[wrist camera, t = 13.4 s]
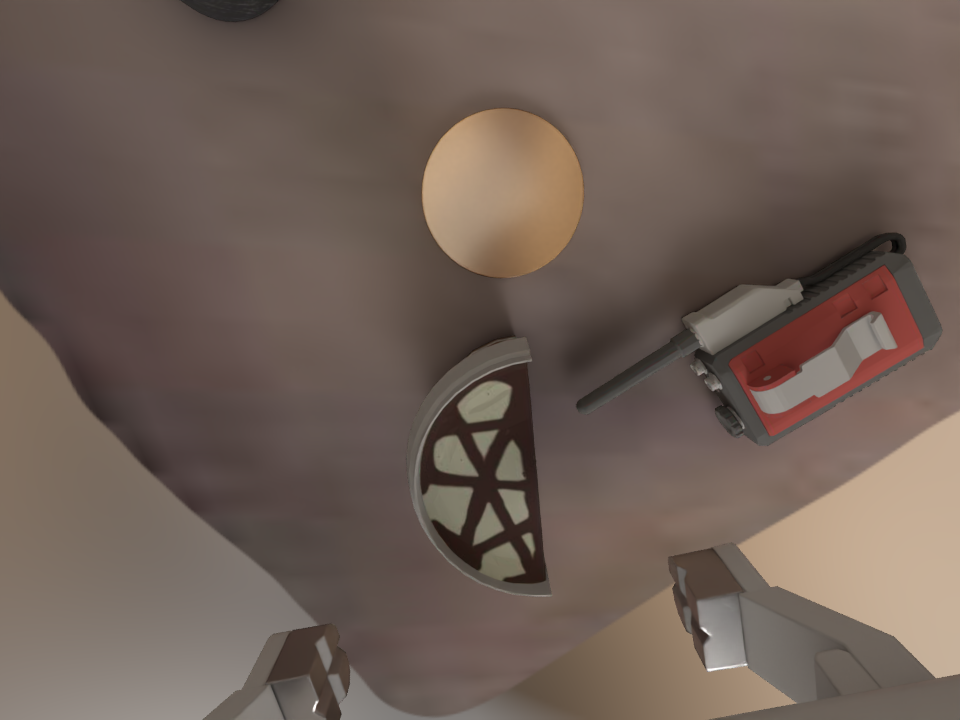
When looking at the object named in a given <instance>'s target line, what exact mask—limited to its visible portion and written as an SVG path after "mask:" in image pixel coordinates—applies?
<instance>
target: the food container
mask: <svg viewBox="0 0 960 720" xmlns="http://www.w3.org/2000/svg"><path fill="white" fill-rule="evenodd" d="M530 361H532V358H531V356H530V349H529V346H528V342H527V339H526V337H522V338H516V336H515V335H514V336H509V337H504V338H499V339H495V340H493V341H491V342H489V343H487V344H485V345H483V346H481V347H479V348H477V349H475V350H473V351H472V352H471V353H470V354H469V355H468V356H467V357H466V358H465V359H464V360H462V361H461V362H460V363H458V364H457V365H456V366H454V367H453V368H452V369H450V370H449V371H448V372H447V373H446V374H445V375H444V376H443V377H442V378H441V379H440V380H439V381H438V382H437V383H436V384H435V385H434V387H433V388H432V389H431V391H430V392H429V394H428V395H427V397H426V398H425V400H424V401H423V402H422V404H421V406H420V408H419V411H418V413H417V415H416V417H415V419H414V421H413V425H412V428H411V432H410V435H409V439H408V446H407V456H406V465H407V479H408V483H409V488H410V493H411V497H412V501H413V505H414V510H415V512H416V514H417V517H418V519H419V521H420V524H421V526H422V528H423V529H424V531H425V533H426V534H427V536H428V537H429V539H430V540H431V542H432V543H433V544H434V545H435V547H436V548H437V549H438V551H439V552H440V553H441V554H442V555H443V556H444V557H445V558H446V559H447V561H448V562H449V563H451V564H452V565H453V566H454V567H456V568H457V569H458V570H459V571H460V572H462V573H463V574H464V575H466V576H468V577H470V578H471V579H473V580H475V581H476V582H478V583H480V584H482V585H485V586H487V587H490V588H492V589H495V590H498V591H502V592H506V593H510V594H514V595H522V596H531V597H545V596H552V593H551V588H550V583H549V578H548V573H547V568H546V563H545V558H544V553H543V541H542V528H541V517H540V506H539V493H538V480H537V469H536V459H535V448H534V435H533V422H532V411H531V400H530V388H529V378H528V368H527V362H530Z"/></svg>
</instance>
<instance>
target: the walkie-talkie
mask: <svg viewBox="0 0 960 720" xmlns="http://www.w3.org/2000/svg"><path fill="white" fill-rule="evenodd" d="M889 240H890V241H891V242H892V250H891V251H890V252H879V251H871V250H873V249H875V248H876V247H878V246H879V245H881V244H883V243H884V242H886V241H889ZM905 250H906V241H905V238H904V237H903V235H901V234H899V233H884V234H881V235H878V236H876V237H874V238H872V239H871V240H869V241H868V242H866V243H864V244H863V245H861V246H860V247H858V248H856V249H855V250H853V251H852V252H850V253H848V254H847V255H845V256H844V257H842V258H840V259H839V260H837V261H836V262H834V263H832V264H831V265H829V266H828V267H826V268H824V269H823V270H821V271H819V272H818V273H816V274H814V275H812V276H810V277H804V278H799V279H796V280H793V279H786V280H784V281H782V282H781V283H779V284H778V285H776V286H765V285H744V284H741V285H739V286H737V287H736V288H734V289H733V290H731V291H729V292H728V293H726V294H725V295H723V296H722V297H720V298H718V299H717V300H715V301H714V302H712V303H710V304H709V305H707V306H706V307H704V308H703V309H701V310H699V311H698V312H692V313H690V314H689V315H687V316H685V317H684V318H682V321H683V323H684V325H685V327H686V328H687V329H686V330H684V331H683V332H681V333H679V334H678V335H676V336H675V337H673V338H671V340H670V343H668V344H666V345H665V346H663V347H662V348H660V349H658V350H657V351H655V352H654V353H652V354H651V355H649V356H647V357H646V358H644V359H643V360H641V361H639V362H638V363H636V364H635V365H633V366H632V367H630V368H628V369H627V370H625V371H624V372H622V373H620V374H619V375H617V376H616V377H614V378H613V379H612V380H610V381H608V382H607V383H605V384H604V385H602V386H601V387H599V388H597V389H596V390H594V391H593V392H591V393H590V394H588V395H586V396H585V397H583V398H582V399H580V400H579V401H578V402H577V405H576V407H577V410H578V411H579V412H580V413H581V414H585V415H586V414H590V413H591V412H593V411H595V410H596V409H598V408H599V407H601V406H603V405H604V404H606V403H607V402H609V401H611V400H612V399H614V398H615V397H617V396H619V395H620V394H622V393H623V392H625V391H627V390H628V389H630V388H631V387H633V386H635V385H636V384H638V383H640V382H641V381H643V380H644V379H646V378H648V377H649V376H651V375H652V374H654V373H656V372H657V371H659V370H660V369H662V368H664V367H665V366H667V365H668V364H670V363H672V362H673V361H675V360H676V359H678V358H680V357H683V358H684V357H686V356H687V355H689V354H690V353H692V352H693V351H695V350H697V351H696V353H695V355H694V356H695V358H694V359H695V362H693V363H692V364H690V366H691V368H692V370H693V371H694V372H695V374H697V375H698V376H699V375H701V374H702V373H705V374H706V376H707V378H706V379H704V381H705V383H706V385H707V386H708V388H709V389H710V390H712V391H714V390H715V391H716V393H717V395H718V396H719V398H720V400H721V402H722V403H723V405H724V406H722V405H721V406H719V407H717V408H715V414H716V416H717V418H718V420H719V421H720V423H721V424H722V425H723V426H724V428H725V429H726V430H727V432H728V433H730V434H731V435H732V436H733V437H735V438H739V437H741V436H742V435H743V434H744V435H745V436H747V437H748V438H749V439H751V440H752V441H753V442H755V443H756V444H757V445H759V446H768V445H770V444H772V443H773V442H775V441H777V440H778V439H780V438H782V437H784V436H785V435H787V434H789V433H790V432H792V431H794V430H795V429H797V428H799V427H801V426H802V425H804V424H806V423H807V422H809V421H811V420H812V419H814V418H816V417H818V416H819V415H821V414H823V413H824V412H826V411H828V410H830V409H831V408H833V407H835V406H836V404H838V403H839V402H843V401H844V400H845V399H846V398H848V397H852V396H853V394H855V393H856V392H860V391H862V389H863V388H865V387H869V386H870V385H871V384H872V383H873V382H875V381H879V380H880V378H882V377H884V376H887V375H888V374H889V373H890V372H892V371H896V370H897V369H898V368H899V367H901V366H904V365H906V364H907V363H908V362H909V361H911V360H912V361H913V360H915V359H916V357H918V356H919V355H923V354H924V353H925V352H926V351H928V350H932V348H933V347H934V345H935V344H936V342H937V341H938V339H939V337H940V336H941V334H942V327H941V324H940V322H939V320H938V318H937V316H936V313H935V311H934V309H933V307H932V305H931V303H930V301H929V298H928V296H927V294H926V292H925V290H924V288H923V285H922V283H921V281H920V279H919V277H918V275H917V273H916V270H915V268H914V266H913V264H912V263H911V261H910V260H909V259H908V258H907V257H906V256H905V255H903V254H904V252H905Z"/></svg>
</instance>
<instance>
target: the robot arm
mask: <svg viewBox="0 0 960 720" xmlns="http://www.w3.org/2000/svg"><path fill="white" fill-rule="evenodd" d="M668 564H669V571H670V573H671V575H672V577H673V579H674V581H675V584H674V586H673V588H672V589H673V594H674V600H675V603H676V607H677V610H678V614H679V616H680V618H681V621H682V623H683V625H684V627H685V629H686V631H687V632H688V633H690V634H692V635H693V641H694V646H695V649H696V651H697V653H698V655H699V657H700V659H701V661H702V663H703V664H704V666H705V668H706V670H707V672H710V671H716V670H722V669H729V668H736V667H742V666H748V668H749V669H751V670H752V671H753V672H755V673H756V674H757V675H759V676H760V677H762V678H763V679H764V680H766V681H767V682H769V683H770V684H771V685H773V686H774V687H776V688H777V689H778V690H780V691H781V692H782V693H784V694H785V695H787V696H788V697H790V698H791V699H792V700H794V701H795V702H797V703H798V704H792V705H786V706H781V707H775V708H770V709H764V710H759V711H754V712H748V713H742V714H737V715H731V716H726V717H721V718H715V719H710V720H960V674H958V675H953V676H947V677H942V678H935V677H934V676H933V675H932V674H931V673H930V672H929V671H928V670H927V669H926V668H925V667H924V666H923V665H922V664H921V663H920V662H919V661H918V660H917V659H916V658H915V657H914V656H913V655H912V654H911V653H910V652H909V651H908V650H907V649H906V648H905V647H904V646H903V645H902V644H901V643H900V642H899V641H898V640H897V639H896V638H895V637H894V636H891V635H889V634H887V633H884V632H882V631H880V630H877V629H875V628H873V627H871V626H868V625H866V624H863V623H861V622H859V621H856V620H854V619H852V618H849V617H847V616H845V615H843V614H840V613H838V612H835V611H833V610H831V609H829V608H826V607H824V606H822V605H819V604H817V603H815V602H812V601H810V600H807V599H805V598H803V597H801V596H798V595H796V594H794V593H791V592H789V591H787V590H784V589H782V588H780V587H778V586H776V587H770V586H769V585H768V584H767V582H766V581H765V580H764V579H763V578H762V576H761V575H760V574H759V573H758V571H757V570H756V569H755V568H754V567H753V565H752V564H751V563H750V562H749V560H748V559H747V558H746V557H745V555H744V554H743V553H742V552H741V551H740V549H739V548H738V547H737V546H736V544H734V543H728V544H723V545H719V546H714V547H711V548H709V549H704V550H699V551H694V552H689V553H684V554H679V555H674V556H670V557H668ZM339 638H340V635H339V633H338V630H337V628H336V626H335V625H333V624H325V625H319V626H314V627H308V628H303V629H296V630H293V631H287V632H281V633H276V634H273V635H272V636H270V637H269V639H268V640H267V642H266V644H265V646H264V648H263V650H262V652H261V654H260V656H259V657H258V660H257V661H256V663H255V665H254V667H253V669H252V671H251V673H250V675H249V677H248V679H247V681H246V683H245V685H244V687H243V688H242V690H238V691H235V692H234V693H233V694H232V695H231V696H229V697H228V698H227V699H226V700H225V701H224V702H222V703H221V704H220V705H219V706H218V707H217V708H216V709H214V710H213V711H212V712H211V713H210V714H209V715H207V716H206V717H205V718H204V719H203V720H340V717H341V711H340V708H339V704H340V703H341V701H343V699H344V698H345V697H346V696H347V693H348V689H349V685H350V667H349V661H348V658H347V655H346V652H345V651H344V650H342V649H341V648H339V647H338V646H337V644H338V641H339Z"/></svg>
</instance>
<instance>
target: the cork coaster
mask: <svg viewBox="0 0 960 720" xmlns="http://www.w3.org/2000/svg"><path fill="white" fill-rule="evenodd" d="M421 194H422V206H423V212H424V216H425V220H426V223H427V226H428V228H429V230H430V232H431V235H432V236H433V238H434V240H435V241H436V243H437V244H438V246H439V247H440V248H441V249H442V250H443V252H444V253H445V254H446V255H447V256H448V257H449V258H450V259H452V260H453V261H454V262H456V263H457V264H458V265H460V266H461V267H463V268H465V269H467V270H469V271H471V272H474V273H476V274H479V275H483V276H487V277H494V278H511V277H517V276H521V275H525V274H528V273H531V272H533V271H535V270H537V269H539V268H541V267H543V266H544V265H546V264H548V263H549V262H550V261H551V260H553V259H554V258H555V257H556V256H557V255H558V254H559V253H560V252H561V251H562V250H563V249H564V248H565V246H566V245H567V243H568V242H569V241H570V239H571V237H572V236H573V234H574V232H575V230H576V228H577V225H578V223H579V220H580V216H581V213H582V208H583V201H584V184H583V176H582V172H581V168H580V164H579V162H578V159H577V157H576V154H575V153H574V151H573V149H572V147H571V145H570V144H569V143H568V141H567V140H566V138H565V137H564V136H563V135H562V134H561V133H560V132H559V131H558V130H557V129H556V128H555V127H554V126H553V125H551V124H550V123H549V122H548V121H546V120H544V119H543V118H541V117H539V116H537V115H535V114H532V113H530V112H527V111H523V110H519V109H512V108H494V109H488V110H483V111H480V112H477V113H474V114H472V115H470V116H468V117H466V118H464V119H463V120H461V121H460V122H458V123H457V124H455V125H454V126H453V127H452V128H450V129H449V130H448V131H447V132H446V133H445V134H444V136H443V137H442V138H441V139H440V140H439V142H438V143H437V145H436V146H435V148H434V149H433V151H432V153H431V155H430V157H429V159H428V162H427V165H426V168H425V171H424V176H423V181H422V192H421Z"/></svg>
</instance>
